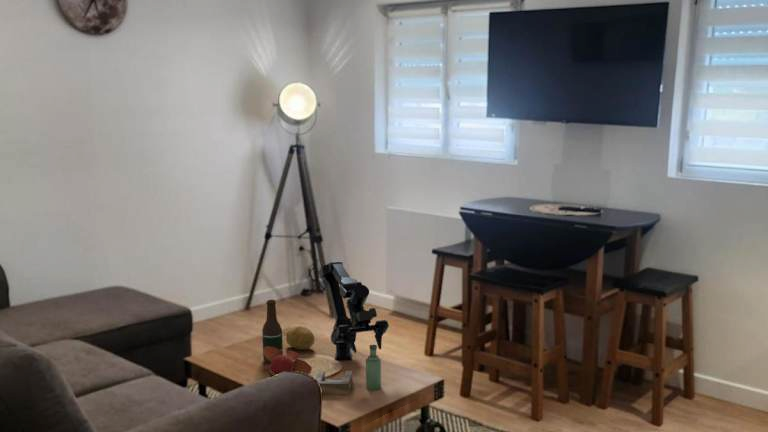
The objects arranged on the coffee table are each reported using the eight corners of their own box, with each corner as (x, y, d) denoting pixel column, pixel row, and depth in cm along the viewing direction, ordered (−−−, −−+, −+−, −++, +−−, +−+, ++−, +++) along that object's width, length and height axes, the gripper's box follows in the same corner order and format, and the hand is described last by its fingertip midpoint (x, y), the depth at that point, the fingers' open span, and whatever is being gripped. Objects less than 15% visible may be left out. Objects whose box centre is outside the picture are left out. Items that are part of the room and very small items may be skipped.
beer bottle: (285, 357, 278) (283, 298, 275) (280, 364, 271) (278, 303, 267) (265, 357, 279) (263, 297, 275) (260, 364, 271) (258, 303, 268)
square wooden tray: (318, 381, 253) (318, 370, 253) (352, 381, 253) (352, 370, 252) (313, 394, 242) (313, 383, 241) (348, 394, 241) (348, 383, 240)
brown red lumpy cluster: (263, 361, 269) (249, 366, 254) (272, 340, 269) (259, 344, 255) (309, 384, 265) (297, 390, 251) (318, 362, 266) (307, 367, 251)
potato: (299, 320, 295) (281, 323, 289) (320, 328, 286) (302, 332, 280) (297, 342, 296) (279, 346, 290) (318, 351, 287) (301, 355, 281)
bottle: (366, 384, 250) (365, 343, 248) (381, 384, 250) (380, 343, 248) (366, 390, 245) (365, 348, 242) (381, 390, 245) (380, 348, 243)
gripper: (337, 303, 249) (347, 343, 241) (386, 298, 256) (398, 336, 248) (330, 319, 258) (341, 358, 249) (378, 313, 265) (390, 351, 256)
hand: (368, 350), depth 250 cm, fingers open, 9 cm apart
